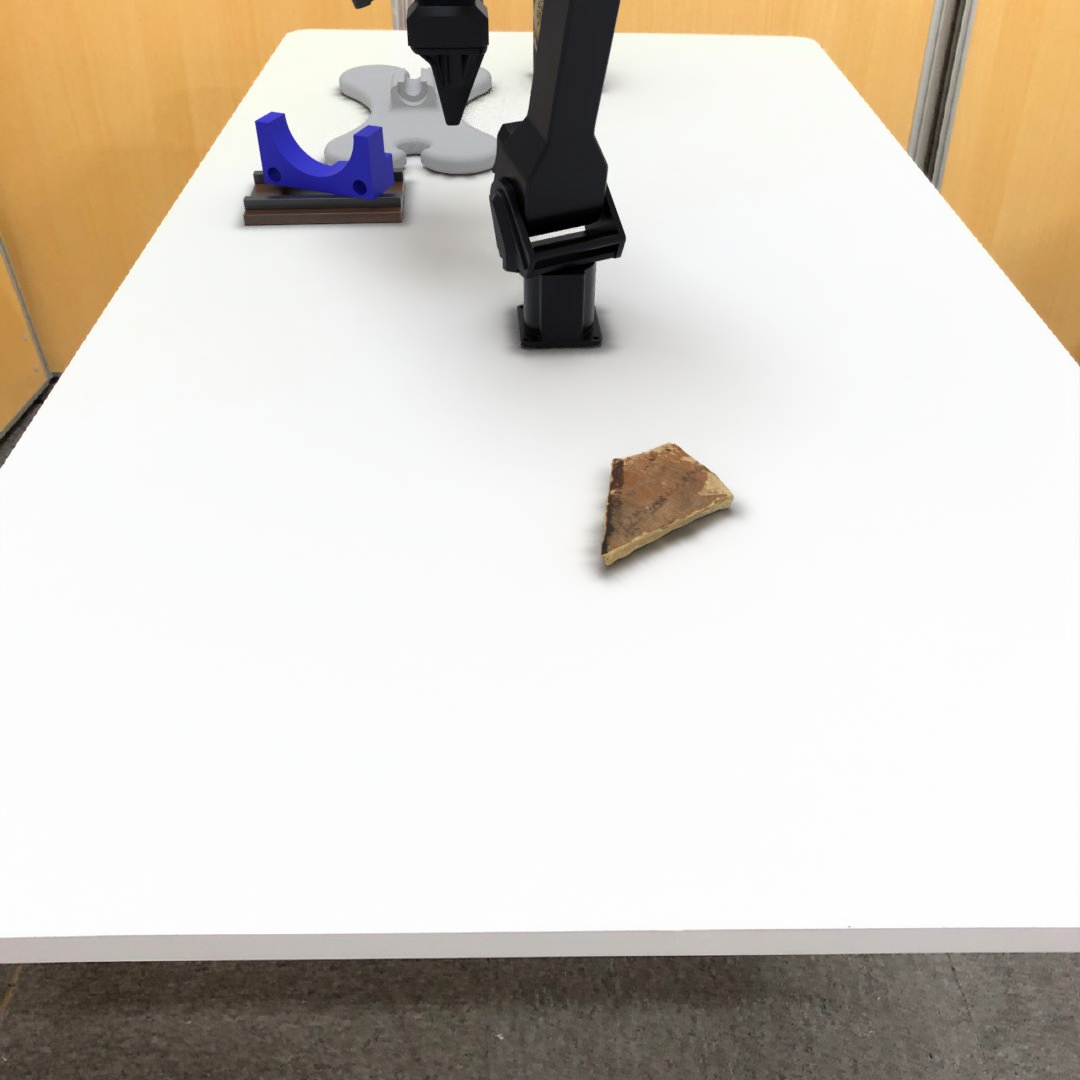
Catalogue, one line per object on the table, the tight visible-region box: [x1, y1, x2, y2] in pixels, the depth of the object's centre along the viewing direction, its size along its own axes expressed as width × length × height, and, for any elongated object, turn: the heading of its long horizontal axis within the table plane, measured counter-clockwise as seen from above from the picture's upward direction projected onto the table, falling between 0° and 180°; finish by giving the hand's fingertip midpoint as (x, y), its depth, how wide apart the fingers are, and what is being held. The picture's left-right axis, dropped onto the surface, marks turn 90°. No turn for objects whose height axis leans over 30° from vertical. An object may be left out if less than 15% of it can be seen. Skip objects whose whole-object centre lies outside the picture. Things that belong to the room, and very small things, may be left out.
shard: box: [600, 442, 735, 566], centre depth 68 cm, size 11×8×2 cm
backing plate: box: [242, 167, 406, 226], centre depth 105 cm, size 10×15×2 cm, turn 94°
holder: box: [323, 64, 497, 175], centre depth 123 cm, size 19×34×5 cm, turn 5°
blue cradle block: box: [254, 111, 394, 200], centre depth 103 cm, size 12×4×6 cm, turn 70°
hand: (452, 107), depth 92 cm, fingers open, 9 cm apart
